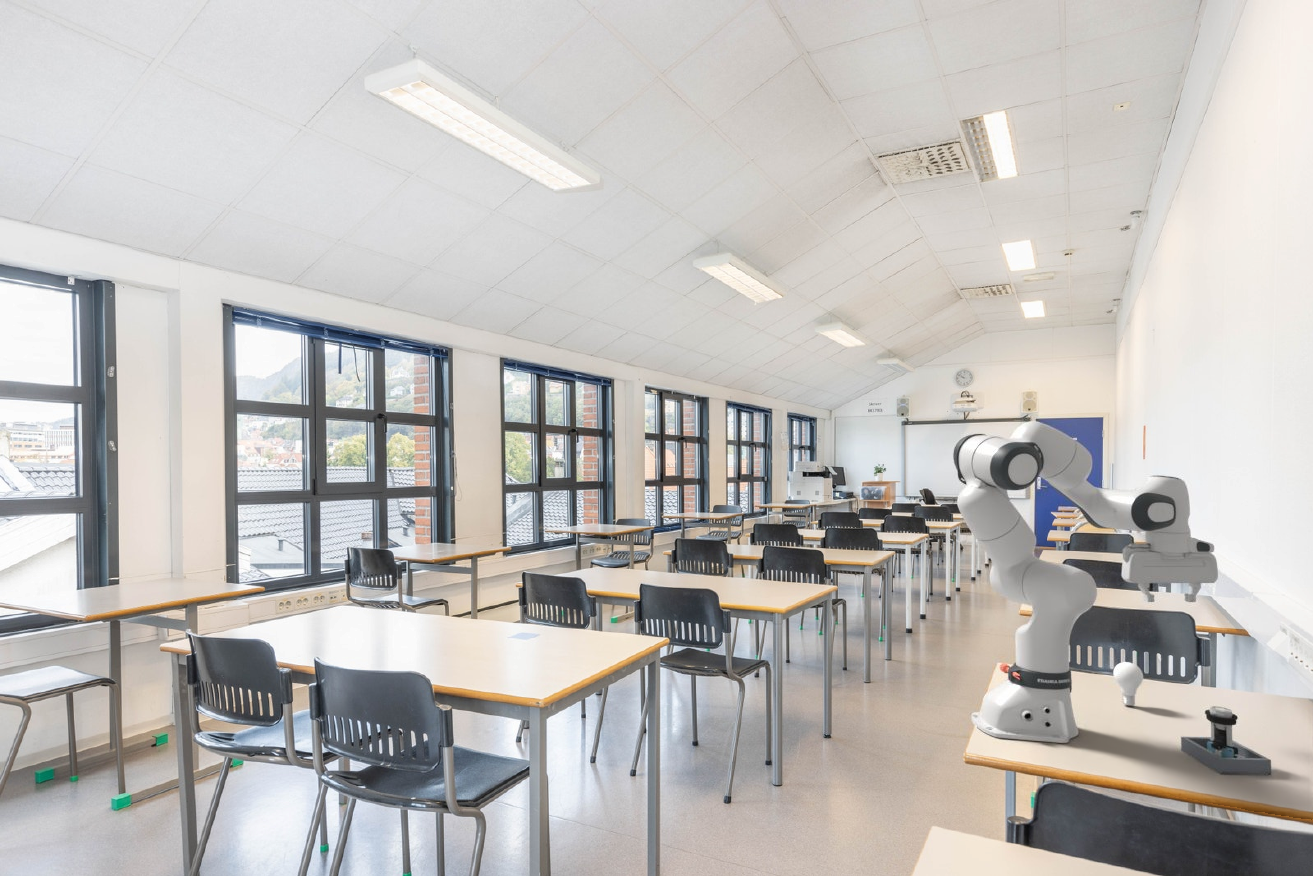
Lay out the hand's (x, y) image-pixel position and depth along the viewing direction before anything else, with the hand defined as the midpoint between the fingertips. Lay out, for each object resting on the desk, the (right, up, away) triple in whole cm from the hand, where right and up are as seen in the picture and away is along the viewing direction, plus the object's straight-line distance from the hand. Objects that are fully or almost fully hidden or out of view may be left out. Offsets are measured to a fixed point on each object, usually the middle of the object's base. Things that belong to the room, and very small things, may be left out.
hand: (1169, 601), depth 170 cm
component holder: (-5, -28, -23) cm, 36 cm away
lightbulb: (-2, -29, +11) cm, 32 cm away
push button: (-4, -28, -22) cm, 36 cm away
